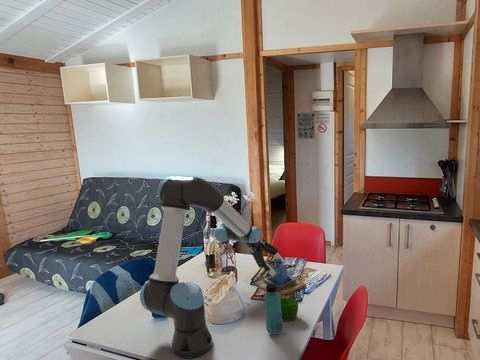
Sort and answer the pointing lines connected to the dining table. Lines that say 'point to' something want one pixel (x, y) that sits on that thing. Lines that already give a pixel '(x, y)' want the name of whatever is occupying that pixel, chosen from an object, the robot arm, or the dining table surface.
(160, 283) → the robot arm
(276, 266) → the perfume bottle
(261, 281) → the walnut stand
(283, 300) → the bell pepper
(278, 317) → the beverage bottle
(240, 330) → the dining table surface
